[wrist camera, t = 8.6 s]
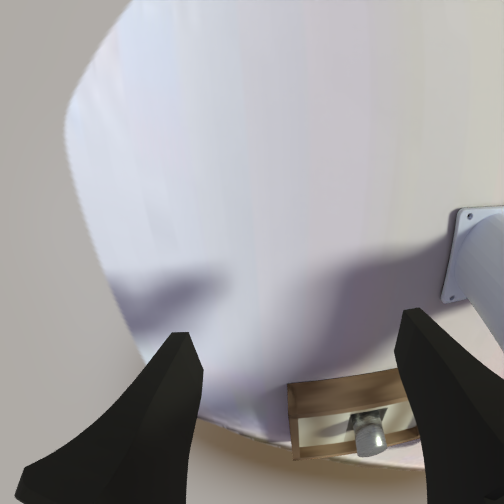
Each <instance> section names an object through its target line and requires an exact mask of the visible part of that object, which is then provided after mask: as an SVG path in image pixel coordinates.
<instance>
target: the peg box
mask: <svg viewBox="0 0 504 504" xmlns="http://www.w3.org/2000/svg"><path fill="white" fill-rule="evenodd" d="M287 393H288V416H289V425H290V435H291V444H292V453H293V460H295V461H296V460H307V459H317V458H326V457H333V456H340V455H347V454H353V453H357V448H356V442H355V436H354V430H353V424H352V418H351V415H350V414H355V413H361V412H367V411H372V410H377V409H378V410H379V414H380V418H381V422H382V426H383V431H384V435H385V440H386V444H387V447H388V446H392V445H396V444H400V443H404V442H408V441H412V440H415V439H419V438H420V435H419V431H418V427H417V424H416V421H415V418H414V415H413V412H412V409H411V406H410V404H409V401H408V398H407V395H406V392H405V389H404V387H403V384H402V381H401V378H400V375H399V371H398V368H395V369H390V370H385V371H380V372H374V373H368V374H363V375H356V376H350V377H343V378H336V379H328V380H320V381H311V382H301V383H291V384H287Z"/></svg>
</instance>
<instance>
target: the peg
mask: <svg viewBox="0 0 504 504" xmlns="http://www.w3.org/2000/svg"><path fill="white" fill-rule="evenodd" d="M351 418H352V424H353V430H354V436H355V442H356V448H357V454H358V456H359V457H369V456H374V455H377V454H379V453H381V452H383V451H385V450H386V449H387V444H386V440H385V435H384V431H383V426H382V422H381V418H380V414H379V410H378V409H377V410H372V411H367V412H361V413H355V414H351Z"/></svg>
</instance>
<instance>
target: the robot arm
mask: <svg viewBox="0 0 504 504" xmlns="http://www.w3.org/2000/svg"><path fill="white" fill-rule="evenodd" d="M469 213H470V215H469V217H467V216H468V214H469ZM464 299H468V300H469V301H470V302H471V304H472V305H473V307H474V308H475V310H476V311H477V312H478V314H479V315H480V317H481V318H482V320H483V321H484V323H485V324H486V326H487V327H488V329H489V330H490V332H491V333H492V335H493V336H494V338H495V340H496V341H497V343H498V344H499V346H500V348H501V349H502V351H503V352H504V206H491V207H474V208H462V209H460V210H459V212H458V214H457V219H456V226H455V232H454V238H453V244H452V250H451V255H450V260H449V265H448V269H447V274H446V278H445V282H444V287H443V291H442V295H441V301H442V302H443V303H450V302H455V301H460V300H464ZM394 354H395V358H396V363H397V367H398V371H399V375H400V378H401V381H402V384H403V387H404V389H405V392H406V395H407V398H408V401H409V404H410V406H411V409H412V412H413V415H414V418H415V421H416V424H417V427H418V431H419V435H420V439H421V445H422V450H423V456H424V464H425V472H426V483H427V504H504V379H502V378H501V377H500V376H498V375H497V374H495V373H494V372H492V371H491V370H490V369H488V368H487V367H486V366H485V365H483V364H482V363H481V362H480V361H479V360H477V359H476V358H475V357H474V356H472V355H471V354H470V353H469V352H468V351H467V350H465V349H464V348H463V347H462V346H461V345H460V344H459V343H458V342H456V341H455V340H454V339H453V338H452V337H451V336H450V335H449V334H448V333H447V332H446V331H444V330H443V329H442V328H441V327H440V326H439V325H438V324H437V323H436V322H435V321H434V320H433V319H431V318H430V317H429V316H428V315H427V314H426V313H425V312H424V311H423V310H421V309H420V308H414V309H408V310H403V315H402V319H401V324H400V328H399V333H398V337H397V341H396V345H395V349H394ZM203 371H204V370H203V367H202V365H201V363H200V360H199V358H198V355H197V353H196V350H195V347H194V345H193V342H192V340H191V337H190V335H189V332H172V333H171V334H170V336H169V337H168V338H167V339H166V341H165V342H164V343H163V344H162V346H161V347H160V348H159V350H158V351H157V352H156V354H155V355H154V356H153V358H152V359H151V360H150V361H149V363H148V364H147V365H146V367H145V368H144V369H143V370H142V372H141V373H140V374H139V375H138V377H137V378H136V379H135V380H134V381H133V383H132V384H131V385H130V386H129V387H128V388H127V389H126V391H125V392H124V393H123V394H122V395H121V396H120V398H119V399H118V400H117V401H116V402H115V403H114V404H113V405H112V406H111V407H110V408H109V409H108V410H107V411H106V412H105V413H104V414H103V415H102V416H101V417H100V418H99V419H97V420H96V421H95V422H94V423H93V424H92V425H90V426H89V427H88V428H87V429H85V430H84V431H83V432H82V433H80V434H79V435H78V436H77V437H76V438H74V439H73V440H71V441H70V442H68V443H67V444H66V445H64V446H63V447H61V448H59V449H58V450H56V451H55V452H54V453H51V454H50V455H48V456H46V457H45V458H43V459H40V460H38V461H37V462H35V463H33V464H31V465H29V466H26V467H25V468H24V470H23V473H22V476H21V478H20V481H19V484H18V487H17V490H16V493H15V497H16V499H17V500H19V501H20V502H22V503H24V504H186V485H187V471H188V459H189V453H190V447H191V442H192V438H193V433H194V428H195V423H196V419H197V415H198V410H199V405H200V400H201V395H202V384H203Z"/></svg>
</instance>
